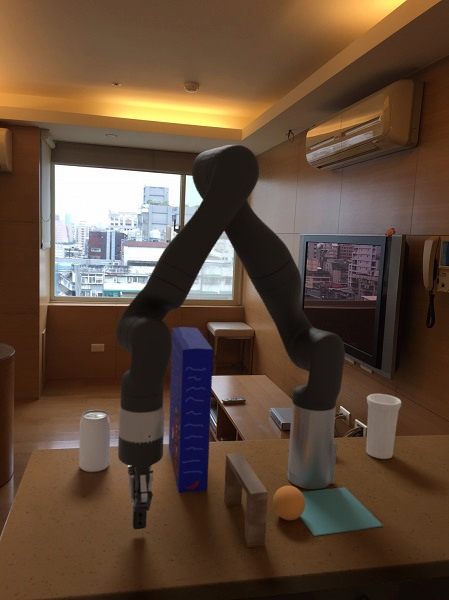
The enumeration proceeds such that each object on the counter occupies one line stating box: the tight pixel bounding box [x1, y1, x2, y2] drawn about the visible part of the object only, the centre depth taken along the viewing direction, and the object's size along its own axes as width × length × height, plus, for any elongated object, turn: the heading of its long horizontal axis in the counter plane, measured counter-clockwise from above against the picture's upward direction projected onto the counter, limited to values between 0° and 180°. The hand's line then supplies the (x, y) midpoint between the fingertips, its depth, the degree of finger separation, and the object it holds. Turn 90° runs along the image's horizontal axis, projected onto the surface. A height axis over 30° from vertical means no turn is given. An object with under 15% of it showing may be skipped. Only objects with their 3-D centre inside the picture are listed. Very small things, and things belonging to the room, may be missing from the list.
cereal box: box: [168, 326, 214, 493], centre depth 108 cm, size 22×6×30 cm, turn 12°
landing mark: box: [299, 486, 384, 537], centre depth 95 cm, size 14×14×1 cm
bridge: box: [223, 452, 269, 548], centre depth 89 cm, size 3×15×10 cm, turn 16°
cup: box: [365, 393, 402, 460], centre depth 120 cm, size 8×8×14 cm
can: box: [78, 409, 111, 473], centre depth 108 cm, size 6×6×12 cm
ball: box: [272, 485, 305, 521], centre depth 91 cm, size 6×6×6 cm
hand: (139, 526), depth 84 cm, fingers closed
